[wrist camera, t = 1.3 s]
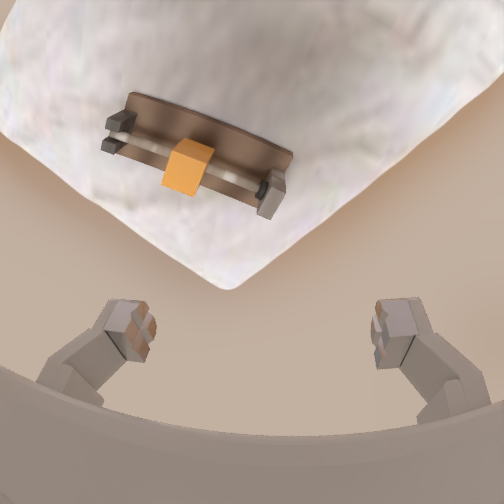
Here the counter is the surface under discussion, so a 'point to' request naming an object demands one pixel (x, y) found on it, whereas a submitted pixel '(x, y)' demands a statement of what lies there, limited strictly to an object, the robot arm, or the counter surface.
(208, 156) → the notched orange cube
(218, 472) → the robot arm
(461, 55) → the counter surface
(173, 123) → the cord board
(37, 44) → the counter surface
